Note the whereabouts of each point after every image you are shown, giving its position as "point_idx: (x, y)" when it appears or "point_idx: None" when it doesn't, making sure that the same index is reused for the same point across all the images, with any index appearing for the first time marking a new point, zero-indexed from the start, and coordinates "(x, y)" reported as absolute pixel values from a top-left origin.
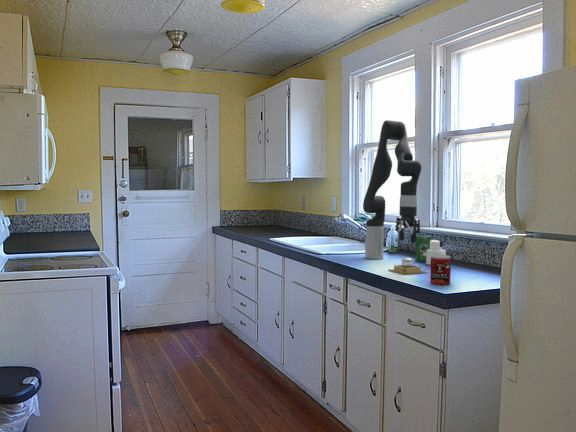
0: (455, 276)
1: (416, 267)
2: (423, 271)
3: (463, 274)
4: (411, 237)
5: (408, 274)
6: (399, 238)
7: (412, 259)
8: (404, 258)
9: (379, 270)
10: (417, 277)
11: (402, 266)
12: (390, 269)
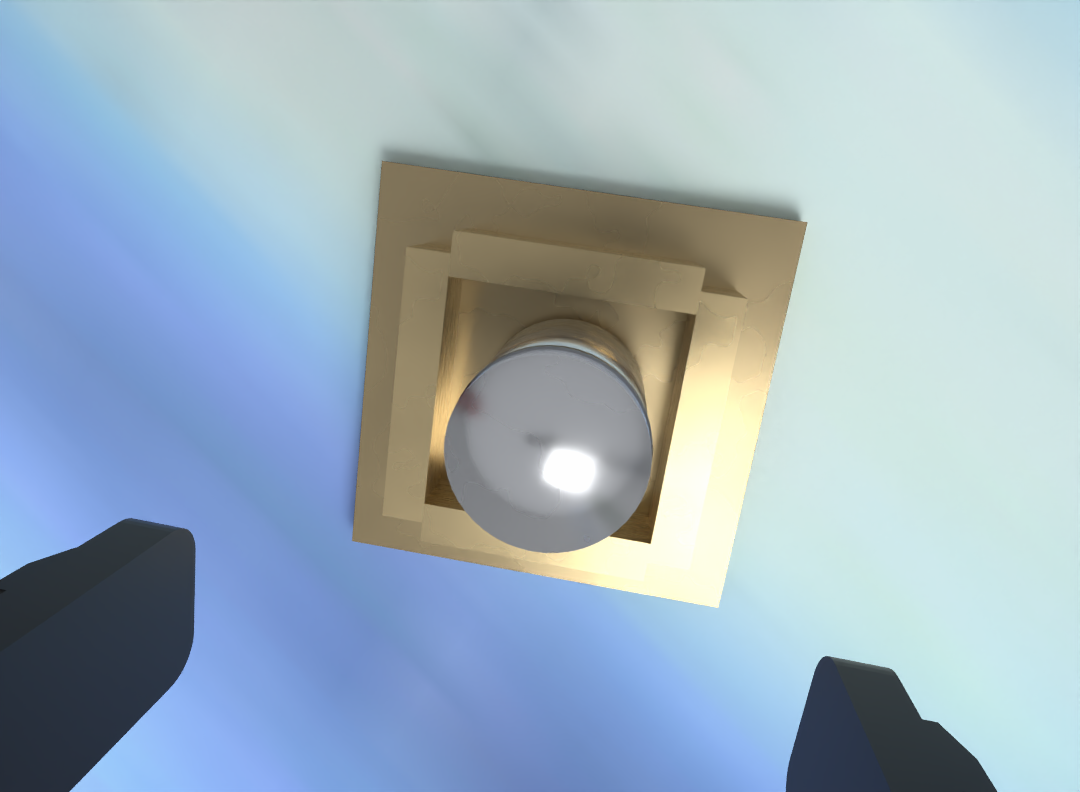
0: None
1: (390, 440)
2: (387, 523)
3: (108, 784)
4: (17, 605)
5: (381, 235)
6: (884, 691)
7: (456, 492)
8: (592, 429)
9: (924, 118)
10: (157, 176)
11: (579, 331)
12: (784, 250)
